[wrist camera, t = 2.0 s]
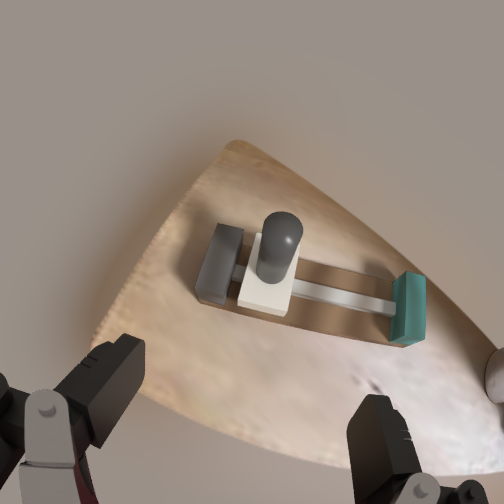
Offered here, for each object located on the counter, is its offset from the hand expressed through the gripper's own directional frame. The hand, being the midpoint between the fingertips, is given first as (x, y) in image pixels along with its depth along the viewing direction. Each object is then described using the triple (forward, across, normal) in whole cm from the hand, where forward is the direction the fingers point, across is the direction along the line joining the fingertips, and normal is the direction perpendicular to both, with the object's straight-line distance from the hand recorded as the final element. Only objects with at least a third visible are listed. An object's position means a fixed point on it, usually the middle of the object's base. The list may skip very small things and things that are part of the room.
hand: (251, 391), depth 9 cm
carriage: (+22, 0, +4) cm, 23 cm away
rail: (+24, -6, +6) cm, 26 cm away
